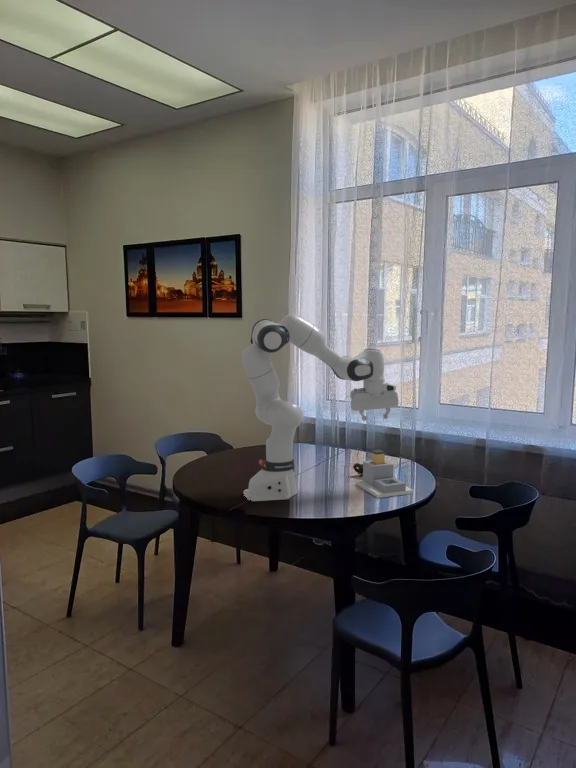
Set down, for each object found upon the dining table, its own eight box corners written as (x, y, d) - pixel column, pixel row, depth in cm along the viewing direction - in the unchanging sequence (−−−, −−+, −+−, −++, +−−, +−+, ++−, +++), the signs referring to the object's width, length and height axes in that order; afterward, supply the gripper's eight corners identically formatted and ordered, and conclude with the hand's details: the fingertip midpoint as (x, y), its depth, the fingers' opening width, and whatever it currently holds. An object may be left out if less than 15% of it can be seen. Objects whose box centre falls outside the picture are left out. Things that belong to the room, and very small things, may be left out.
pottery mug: (377, 474, 245) (381, 461, 241) (375, 488, 238) (380, 475, 233) (352, 467, 247) (356, 454, 242) (349, 481, 239) (353, 468, 234)
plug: (376, 471, 223) (375, 452, 222) (371, 468, 227) (371, 450, 226) (384, 470, 224) (384, 451, 224) (380, 467, 228) (380, 449, 227)
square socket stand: (377, 498, 210) (377, 473, 209) (356, 484, 229) (356, 461, 228) (413, 493, 215) (413, 469, 214) (389, 480, 234) (389, 458, 233)
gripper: (352, 389, 217) (353, 422, 218) (399, 386, 220) (400, 418, 222) (348, 387, 223) (349, 420, 225) (393, 384, 226) (394, 416, 228)
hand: (374, 419), depth 223 cm, fingers open, 8 cm apart
